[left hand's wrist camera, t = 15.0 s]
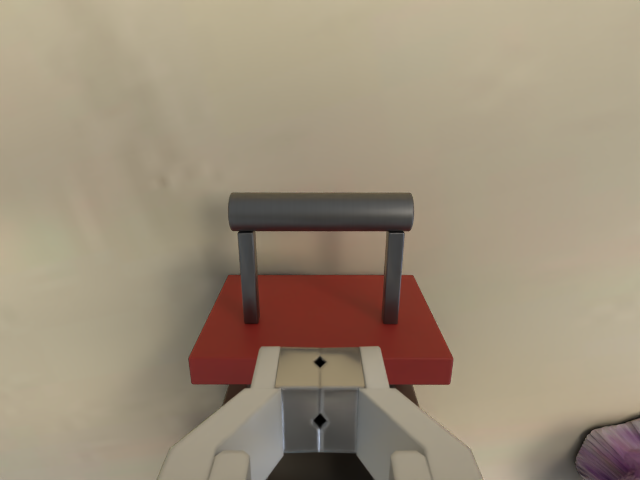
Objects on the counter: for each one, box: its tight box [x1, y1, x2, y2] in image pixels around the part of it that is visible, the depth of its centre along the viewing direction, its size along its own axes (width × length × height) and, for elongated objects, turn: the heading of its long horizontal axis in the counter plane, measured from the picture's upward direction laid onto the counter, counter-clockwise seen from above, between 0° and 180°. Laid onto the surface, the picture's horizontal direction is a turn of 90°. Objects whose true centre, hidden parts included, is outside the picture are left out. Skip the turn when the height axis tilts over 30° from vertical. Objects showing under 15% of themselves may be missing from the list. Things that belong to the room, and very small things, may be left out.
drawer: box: [188, 193, 453, 480], centre depth 20 cm, size 21×10×7 cm, turn 0°
